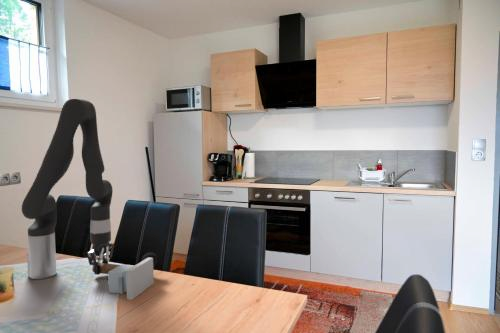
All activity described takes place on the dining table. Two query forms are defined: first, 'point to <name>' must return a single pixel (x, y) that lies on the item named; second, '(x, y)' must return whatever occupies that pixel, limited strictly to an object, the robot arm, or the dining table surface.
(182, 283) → the dining table surface
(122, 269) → the sleeve block
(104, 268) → the dowel
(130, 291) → the base plate
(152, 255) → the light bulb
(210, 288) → the dining table surface
